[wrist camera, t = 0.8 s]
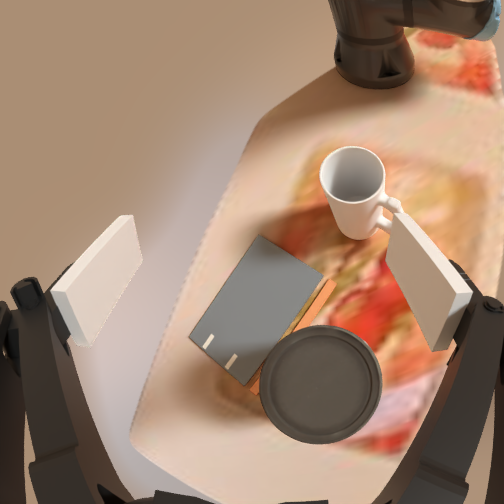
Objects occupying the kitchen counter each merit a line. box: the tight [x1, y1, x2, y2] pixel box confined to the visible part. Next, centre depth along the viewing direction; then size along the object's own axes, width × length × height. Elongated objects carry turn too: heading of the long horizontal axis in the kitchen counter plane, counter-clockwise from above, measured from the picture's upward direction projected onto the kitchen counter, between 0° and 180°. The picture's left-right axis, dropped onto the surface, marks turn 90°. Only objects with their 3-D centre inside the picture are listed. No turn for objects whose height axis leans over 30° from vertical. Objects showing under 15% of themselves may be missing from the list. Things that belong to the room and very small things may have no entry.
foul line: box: [250, 279, 337, 395], centre depth 38 cm, size 18×1×1 cm, turn 142°
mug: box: [319, 146, 404, 240], centre depth 33 cm, size 10×7×12 cm, turn 49°
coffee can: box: [259, 325, 382, 444], centre depth 29 cm, size 10×10×14 cm
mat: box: [189, 235, 324, 386], centre depth 41 cm, size 18×11×1 cm, turn 142°
